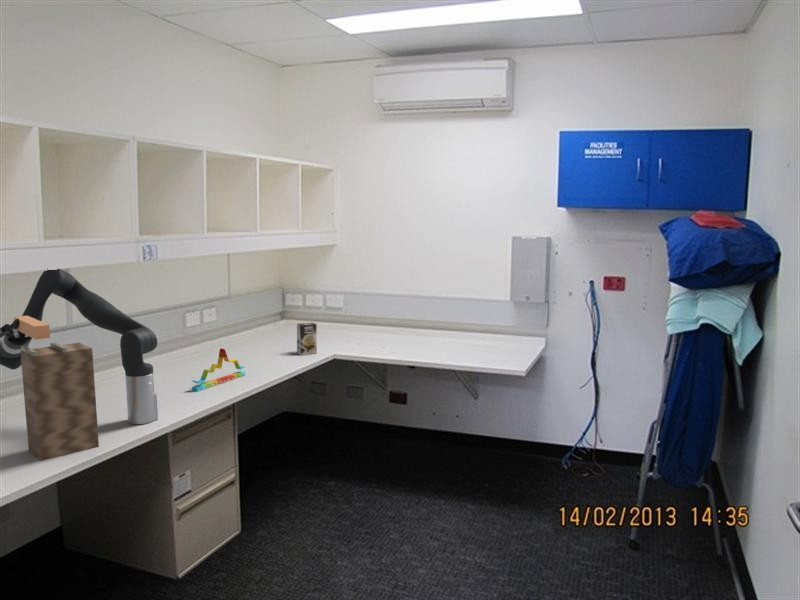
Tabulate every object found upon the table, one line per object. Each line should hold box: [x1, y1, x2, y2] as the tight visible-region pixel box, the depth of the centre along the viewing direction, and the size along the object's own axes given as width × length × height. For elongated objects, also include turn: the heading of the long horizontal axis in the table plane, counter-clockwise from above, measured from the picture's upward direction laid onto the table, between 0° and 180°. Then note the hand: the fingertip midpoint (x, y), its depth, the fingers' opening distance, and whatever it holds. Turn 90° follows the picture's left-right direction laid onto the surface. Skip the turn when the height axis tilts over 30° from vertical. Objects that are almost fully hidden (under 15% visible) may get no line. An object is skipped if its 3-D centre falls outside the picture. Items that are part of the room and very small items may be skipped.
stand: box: [20, 341, 100, 462], centre depth 201 cm, size 17×12×33 cm
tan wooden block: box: [13, 315, 51, 340], centre depth 204 cm, size 4×24×4 cm, turn 44°
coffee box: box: [296, 322, 318, 356], centre depth 339 cm, size 9×6×16 cm
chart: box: [191, 348, 246, 393], centre depth 281 cm, size 30×3×15 cm, turn 153°
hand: (26, 320), depth 208 cm, fingers closed on tan wooden block, 4 cm apart
